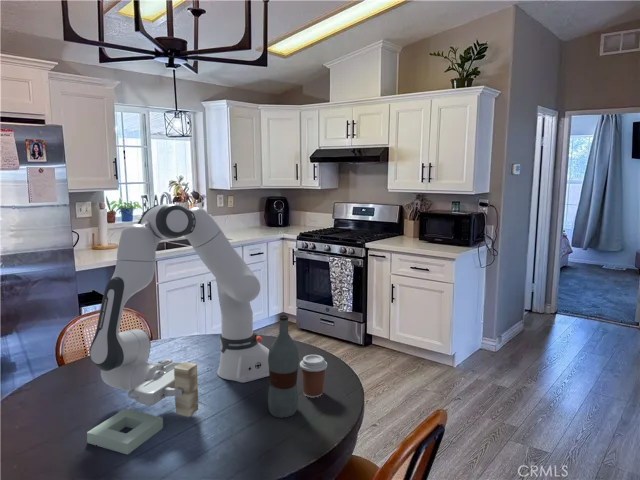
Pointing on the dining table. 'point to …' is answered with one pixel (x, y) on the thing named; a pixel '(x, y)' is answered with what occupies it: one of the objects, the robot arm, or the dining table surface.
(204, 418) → the dining table surface
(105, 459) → the dining table surface
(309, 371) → the coffee cup
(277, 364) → the bottle
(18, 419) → the dining table surface
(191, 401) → the peg
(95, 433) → the socket plate
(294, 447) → the dining table surface
